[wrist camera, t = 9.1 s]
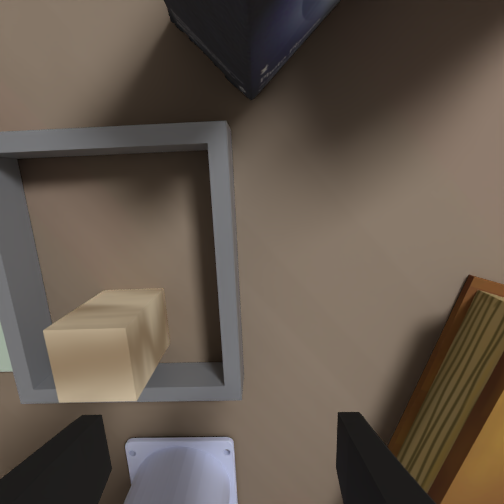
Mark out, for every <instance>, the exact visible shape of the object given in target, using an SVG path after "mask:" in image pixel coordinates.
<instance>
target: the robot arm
mask: <svg viewBox="0 0 504 504" xmlns="http://www.w3.org/2000/svg"><path fill="white" fill-rule="evenodd" d="M226 449H227V450H228V451H227V450H226ZM125 450H126V456H127V462H128V468H129V474H130V480H131V487H130V489H129V492H128V494H127V496H126V499H125V501H124V503H123V504H238V500H237V484H236V469H235V454H234V442H233V440H232V439H231V438H230V437H176V438H130V439H129V440H128V441H127V443H126V445H125ZM111 469H112V466H111V461H110V456H109V451H108V446H107V440H106V435H105V430H104V425H103V419H102V415H82V416H81V417H79V418H78V419H76V420H75V421H74V422H72V423H71V424H70V425H69V426H67V427H66V428H65V429H63V430H62V431H61V432H60V433H58V434H57V435H56V436H55V437H53V438H52V439H51V440H50V441H48V442H47V443H46V444H44V445H43V446H42V447H41V448H39V449H38V450H37V451H36V452H34V453H33V454H32V455H31V456H29V457H28V458H27V459H26V460H24V461H23V462H22V463H20V464H19V465H18V466H17V467H15V468H14V469H13V470H12V471H10V472H9V473H8V474H6V475H5V476H4V477H3V478H1V479H0V504H98V502H99V500H100V498H101V495H102V493H103V490H104V488H105V485H106V482H107V480H108V477H109V475H110V472H111ZM336 470H337V474H338V479H339V484H340V489H341V494H342V498H343V503H344V504H436V503H435V502H434V500H433V499H432V498H431V497H430V496H429V495H428V494H427V493H426V492H425V490H424V489H423V488H422V487H421V486H420V485H419V484H418V482H417V481H416V480H415V479H414V478H413V477H412V476H411V474H410V473H409V472H408V471H407V470H406V469H405V468H404V466H403V465H402V464H401V463H400V462H399V461H398V459H397V458H396V457H395V456H394V455H393V453H392V452H391V451H390V450H389V448H388V447H387V446H386V445H385V444H384V442H383V441H382V440H381V439H380V437H379V436H378V435H377V434H376V432H375V431H374V430H373V429H372V427H371V426H370V425H369V424H368V422H367V421H366V420H365V418H364V417H363V416H362V415H361V414H360V413H359V412H338V425H337V455H336Z"/></svg>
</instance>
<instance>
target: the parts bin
mask: <svg viewBox="0 0 504 504" xmlns="http://www.w3.org/2000/svg"><path fill="white" fill-rule="evenodd" d="M198 150H208V157H209V171H210V185H211V200H212V214H213V228H214V242H215V256H216V271H217V285H218V299H219V313H220V327H221V342H222V356H223V362H197V363H158V365H157V367H156V369H155V370H154V372H153V374H152V376H151V377H150V379H149V381H148V382H147V384H146V386H145V388H144V389H143V391H142V393H141V395H140V396H139V398H138V400H137V401H117V402H160V401H224V400H242V392H243V380H244V365H243V346H242V327H241V308H240V289H239V270H238V251H237V232H236V213H235V195H234V176H233V157H232V138H231V129H230V127H229V125H228V123H227V121H208V122H188V123H168V124H148V125H128V126H108V127H88V128H68V129H48V130H28V131H8V132H0V322H1V326H2V330H3V334H4V338H5V342H6V346H7V350H8V354H9V358H10V362H11V366H12V370H13V374H14V378H15V382H16V386H17V390H18V393H19V397H20V401H21V404H34V403H59V400H58V396H57V392H56V387H55V383H54V378H53V374H52V369H51V365H50V360H49V356H48V351H47V347H46V342H45V338H44V333H43V330H44V329H46V328H47V327H49V326H50V325H52V322H51V317H50V312H49V308H48V303H47V298H46V293H45V289H44V284H43V279H42V274H41V270H40V265H39V260H38V255H37V251H36V246H35V241H34V236H33V232H32V227H31V222H30V217H29V213H28V208H27V203H26V198H25V194H24V189H23V184H22V180H21V175H20V170H19V165H18V161H17V159H26V158H47V157H69V156H90V155H112V154H133V153H155V152H176V151H198ZM67 403H97V402H67Z"/></svg>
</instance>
